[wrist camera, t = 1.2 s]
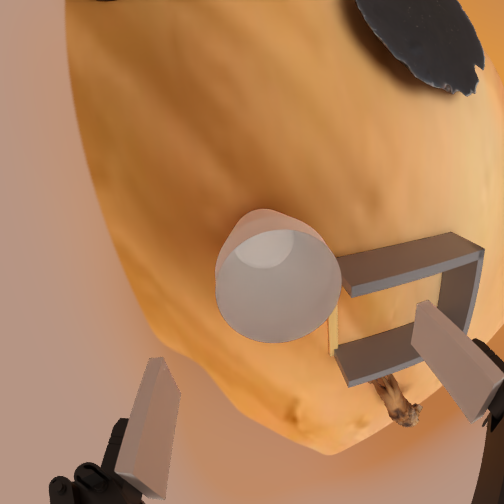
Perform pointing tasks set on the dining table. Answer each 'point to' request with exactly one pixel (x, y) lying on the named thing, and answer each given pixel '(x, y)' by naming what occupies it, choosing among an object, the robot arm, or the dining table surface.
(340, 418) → the dining table surface
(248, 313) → the cup
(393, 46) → the board
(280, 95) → the dining table surface
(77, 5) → the dining table surface
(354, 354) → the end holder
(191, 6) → the dining table surface
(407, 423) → the lion figurine
